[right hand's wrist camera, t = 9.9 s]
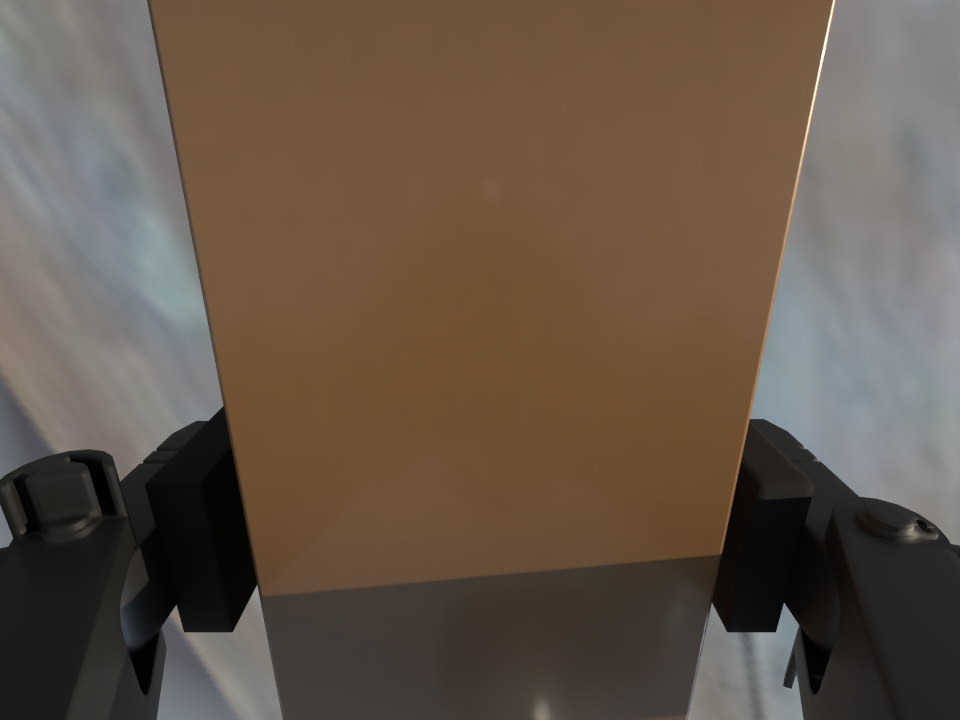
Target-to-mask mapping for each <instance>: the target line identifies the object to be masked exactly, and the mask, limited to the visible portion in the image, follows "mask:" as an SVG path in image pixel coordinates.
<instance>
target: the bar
mask: <svg viewBox="0 0 960 720" xmlns="http://www.w3.org/2000/svg"><path fill="white" fill-rule="evenodd" d="M147 2H148V7H149V13H150V18H151V23H152V28H153V34H154V39H155V44H156V50H157V55H158V60H159V66H160V71H161V76H162V81H163V87H164V92H165V97H166V103H167V108H168V113H169V119H170V124H171V129H172V134H173V140H174V145H175V150H176V156H177V161H178V166H179V172H180V177H181V182H182V187H183V193H184V198H185V203H186V209H187V214H188V219H189V225H190V230H191V235H192V240H193V246H194V251H195V256H196V262H197V267H198V272H199V278H200V283H201V288H202V293H203V299H204V304H205V309H206V315H207V320H208V325H209V331H210V336H211V341H212V346H213V352H214V357H215V362H216V368H217V373H218V378H219V384H220V389H221V394H222V399H223V405H224V410H225V415H226V421H227V426H228V431H229V437H230V442H231V447H232V452H233V458H234V463H235V468H236V474H237V479H238V484H239V490H240V495H241V500H242V505H243V511H244V516H245V521H246V527H247V532H248V537H249V543H250V548H251V553H252V558H253V564H254V569H255V574H256V580H257V585H258V590H259V596H260V601H261V606H262V611H263V617H264V622H265V627H266V633H267V638H268V643H269V649H270V654H271V659H272V664H273V670H274V675H275V680H276V686H277V691H278V696H279V702H280V707H281V712H282V717H283V720H687V719H688V714H689V710H690V705H691V700H692V695H693V690H694V685H695V681H696V676H697V671H698V666H699V661H700V656H701V652H702V647H703V642H704V637H705V632H706V627H707V623H708V618H709V613H710V608H711V603H712V598H713V594H714V589H715V584H716V579H717V574H718V569H719V565H720V560H721V555H722V550H723V545H724V540H725V536H726V531H727V526H728V521H729V516H730V512H731V507H732V502H733V497H734V492H735V487H736V483H737V478H738V473H739V468H740V463H741V458H742V454H743V449H744V444H745V439H746V434H747V429H748V425H749V420H750V415H751V410H752V405H753V400H754V396H755V391H756V386H757V381H758V376H759V371H760V367H761V362H762V357H763V352H764V347H765V342H766V338H767V333H768V328H769V323H770V318H771V313H772V309H773V304H774V299H775V294H776V289H777V284H778V280H779V275H780V270H781V265H782V260H783V255H784V251H785V246H786V241H787V236H788V231H789V226H790V222H791V217H792V212H793V207H794V202H795V197H796V193H797V188H798V183H799V178H800V173H801V169H802V164H803V159H804V154H805V149H806V144H807V140H808V135H809V130H810V125H811V120H812V115H813V111H814V106H815V101H816V96H817V91H818V86H819V82H820V77H821V72H822V67H823V62H824V57H825V53H826V48H827V43H828V38H829V33H830V28H831V24H832V19H833V14H834V9H835V4H836V0H147Z"/></svg>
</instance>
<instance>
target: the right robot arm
mask: <svg viewBox="0 0 960 720" xmlns="http://www.w3.org/2000/svg"><path fill="white" fill-rule="evenodd" d="M0 505H1V507H2V510H3V513H4V515H5V518H6V520H7V523H8V525H9V528H10V531H11V533H12V536H13V540H12V542H11V543H10V545H9V547H5V548H0V720H156V719H157V712H158V705H159V698H160V691H161V685H162V678H163V671H164V663H165V657H166V644H165V638H164V634H163V631H162V628H161V627H162V625H163V624H164V622H165V621H166V619H167V618H168V616H169V615H170V613H171V612H172V610H173V609H174V607H175V606H176V604H177V607H178V611H179V615H180V619H181V622H182V626H183V630H184V632H233V630H234V629H235V627H236V625H237V623H238V621H239V619H240V617H241V615H242V613H243V611H244V609H245V607H246V605H247V603H248V601H249V599H250V597H251V595H252V593H253V592H254V590H255V588H256V586H257V580H256V574H255V569H254V564H253V558H252V553H251V548H250V543H249V537H248V532H247V527H246V521H245V516H244V511H243V505H242V500H241V495H240V490H239V484H238V479H237V474H236V468H235V463H234V458H233V452H232V447H231V442H230V437H229V431H228V426H227V421H226V415H225V410H224V406H223V407H222V408H221V409H220V410H219V411H218V412H217V413H216V414H215V415H214V416H213V417H212V418H211V419H210V420H209V421H196V422H194V423H192V424H190V425H188V426H186V427H184V428H182V429H180V430H179V431H177V432H175V433H173V434H172V435H171V436H170V437H168V438H167V439H166V440H165V441H164V442H163V443H162V444H161V445H160V446H159V447H158V448H157V451H153V452H152V453H151V454H150V455H149V456H148V457H147V458H146V459H145V460H143V464H139V465H138V466H137V467H136V468H135V469H134V470H133V471H131V472H130V473H129V474H128V475H127V476H126V477H125V478H124V479H123V480H122V481H121V482H120V481H119V477H118V474H117V470H116V467H115V463H114V460H113V456H111V455H109V454H108V453H106V452H104V451H98V450H89V449H88V450H77V451H68V452H63V453H59V454H55V455H51V456H47V457H44V458H41V459H38V460H36V461H33V462H30V463H28V464H25V465H23V466H21V467H19V468H18V469H16V470H14V471H12V472H10V473H9V474H7V475H5V476H4V477H3V478H2V479H1V480H0ZM712 603H713V605H714V607H715V609H716V611H717V613H718V615H719V617H720V619H721V621H722V623H723V625H724V627H725V628H726V630H727V632H776V630H777V626H778V622H779V619H780V615H781V611H782V607H783V604H784V603H785V604H786V606H787V607H788V609H789V610H790V612H791V613H792V615H793V616H794V618H795V619H796V621H797V622H798V624H799V627H798V631H797V634H796V638H795V641H794V645H793V648H792V652H791V655H790V659H789V662H788V666H787V669H786V673H785V678H784V684H783V686H785V687H788V688H792V685H793V682H794V678H795V676H798V683H799V690H800V697H801V704H802V711H803V718H804V720H960V546H958V545H953V544H950V542H949V541H948V539H947V537H946V536H945V535H944V534H943V533H942V532H941V531H940V530H939V528H938V527H937V526H936V525H934V524H933V523H931V522H930V521H928V520H927V519H925V518H924V517H922V516H921V515H919V514H917V513H915V512H913V511H911V510H908V509H906V508H904V507H902V506H899V505H897V504H893V503H890V502H886V501H883V500H879V499H874V498H865V497H859V496H858V495H857V494H856V493H854V492H853V491H852V490H851V489H850V488H849V487H848V486H847V485H846V484H845V483H843V482H842V481H841V480H840V479H839V478H838V477H837V476H836V475H835V474H834V473H833V472H831V471H830V470H829V469H828V468H827V467H826V466H825V465H824V464H823V463H822V462H817V458H816V457H815V456H814V455H813V454H812V453H811V452H809V451H808V450H807V449H804V446H803V445H802V444H801V443H800V442H799V441H797V440H796V439H795V438H794V437H793V436H792V435H791V434H790V433H789V432H787V431H785V430H784V429H782V428H780V427H778V426H776V425H774V424H772V423H770V422H768V421H766V420H764V419H750V420H749V425H748V429H747V434H746V439H745V444H744V449H743V454H742V458H741V463H740V468H739V473H738V478H737V483H736V487H735V492H734V497H733V502H732V507H731V512H730V516H729V521H728V526H727V531H726V536H725V540H724V545H723V550H722V555H721V560H720V565H719V569H718V574H717V579H716V584H715V589H714V594H713V598H712Z"/></svg>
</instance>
